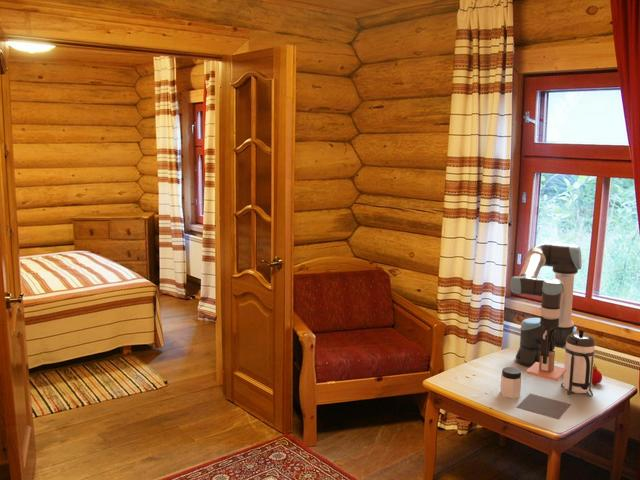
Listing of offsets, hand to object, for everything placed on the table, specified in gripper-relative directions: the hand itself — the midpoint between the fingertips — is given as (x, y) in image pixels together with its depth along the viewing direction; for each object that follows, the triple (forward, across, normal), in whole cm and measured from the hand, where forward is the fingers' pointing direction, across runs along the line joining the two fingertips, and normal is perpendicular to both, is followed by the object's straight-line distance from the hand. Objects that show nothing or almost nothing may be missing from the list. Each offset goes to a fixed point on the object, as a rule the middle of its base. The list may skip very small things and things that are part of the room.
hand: (546, 368), depth 258 cm
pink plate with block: (+2, 0, 0) cm, 2 cm away
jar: (+18, -3, -16) cm, 24 cm away
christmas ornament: (+18, -40, +11) cm, 45 cm away
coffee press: (+18, -25, +8) cm, 32 cm away
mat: (+18, 0, 0) cm, 18 cm away
